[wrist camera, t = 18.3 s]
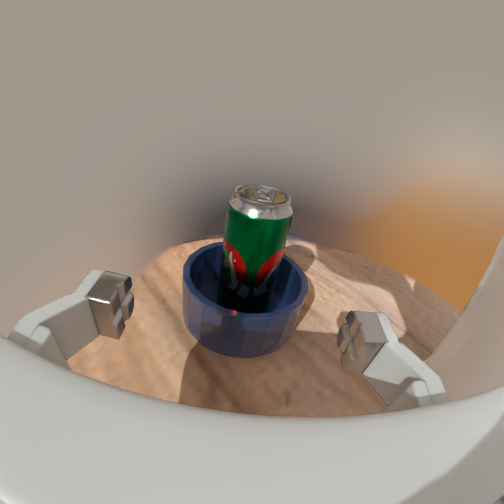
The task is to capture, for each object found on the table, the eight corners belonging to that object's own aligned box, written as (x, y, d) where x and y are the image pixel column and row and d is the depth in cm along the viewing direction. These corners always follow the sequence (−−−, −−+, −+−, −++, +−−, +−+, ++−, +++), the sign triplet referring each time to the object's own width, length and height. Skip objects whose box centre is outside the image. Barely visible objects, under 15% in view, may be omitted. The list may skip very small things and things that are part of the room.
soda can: (265, 296, 29) (291, 188, 23) (267, 331, 24) (301, 211, 18) (218, 290, 28) (232, 179, 22) (213, 325, 24) (227, 200, 18)
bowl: (183, 358, 21) (181, 318, 18) (184, 277, 30) (185, 238, 27) (308, 353, 23) (326, 315, 21) (278, 279, 33) (288, 243, 30)
